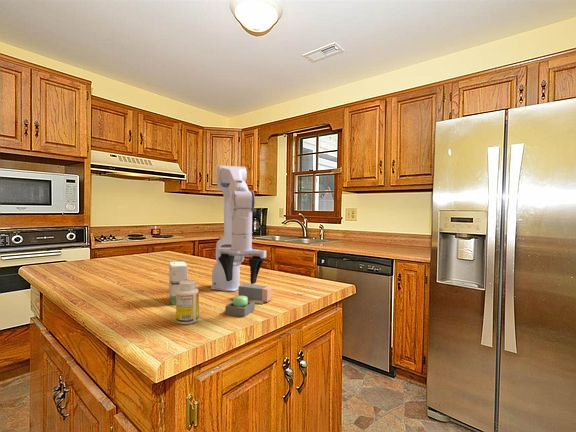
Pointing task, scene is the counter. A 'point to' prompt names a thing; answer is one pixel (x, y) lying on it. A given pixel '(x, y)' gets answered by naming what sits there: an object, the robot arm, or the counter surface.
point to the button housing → (240, 309)
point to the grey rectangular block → (255, 292)
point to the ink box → (176, 278)
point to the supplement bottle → (187, 302)
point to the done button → (240, 301)
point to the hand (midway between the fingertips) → (241, 281)
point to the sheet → (256, 301)
